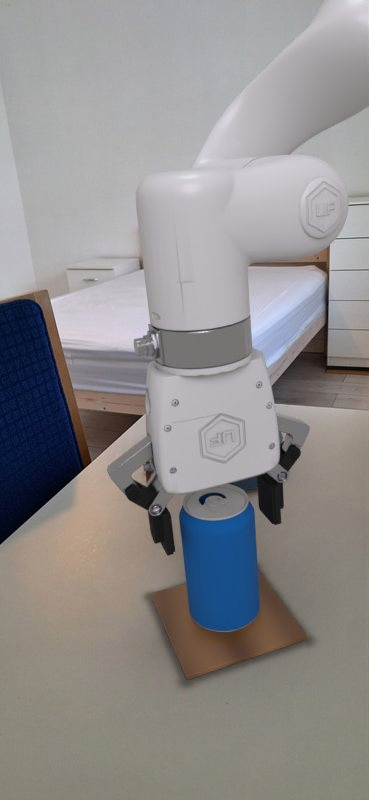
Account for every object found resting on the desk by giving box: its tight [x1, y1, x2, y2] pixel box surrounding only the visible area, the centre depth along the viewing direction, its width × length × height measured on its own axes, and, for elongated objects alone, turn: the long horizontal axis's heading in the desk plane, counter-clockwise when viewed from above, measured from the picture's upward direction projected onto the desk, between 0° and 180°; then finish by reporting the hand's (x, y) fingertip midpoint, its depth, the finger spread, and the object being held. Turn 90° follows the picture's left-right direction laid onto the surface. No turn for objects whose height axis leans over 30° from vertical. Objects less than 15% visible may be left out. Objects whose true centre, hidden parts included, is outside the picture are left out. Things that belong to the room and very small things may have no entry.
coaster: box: [150, 569, 308, 680], centre depth 55 cm, size 11×11×1 cm
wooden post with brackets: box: [142, 461, 154, 483], centre depth 78 cm, size 2×8×4 cm, turn 175°
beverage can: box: [178, 484, 260, 632], centre depth 53 cm, size 6×6×12 cm
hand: (219, 531), depth 52 cm, fingers open, 9 cm apart
